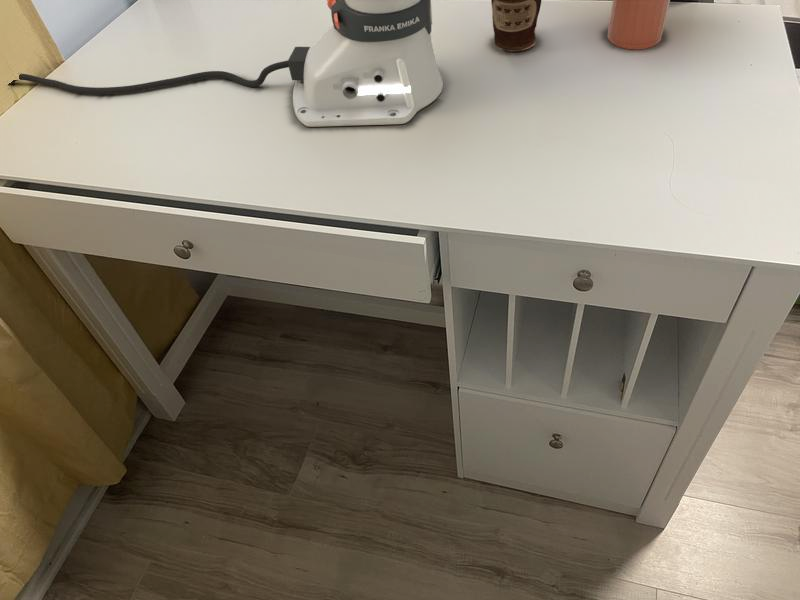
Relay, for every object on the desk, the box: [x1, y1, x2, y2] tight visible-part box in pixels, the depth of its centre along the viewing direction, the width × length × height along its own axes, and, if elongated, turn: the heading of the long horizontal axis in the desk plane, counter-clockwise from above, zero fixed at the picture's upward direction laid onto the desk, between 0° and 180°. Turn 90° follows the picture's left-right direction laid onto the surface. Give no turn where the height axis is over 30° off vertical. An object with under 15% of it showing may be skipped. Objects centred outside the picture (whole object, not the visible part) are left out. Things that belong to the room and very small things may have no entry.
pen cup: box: [607, 0, 671, 50], centre depth 99 cm, size 8×8×10 cm
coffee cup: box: [490, 0, 542, 52], centre depth 100 cm, size 9×8×13 cm
